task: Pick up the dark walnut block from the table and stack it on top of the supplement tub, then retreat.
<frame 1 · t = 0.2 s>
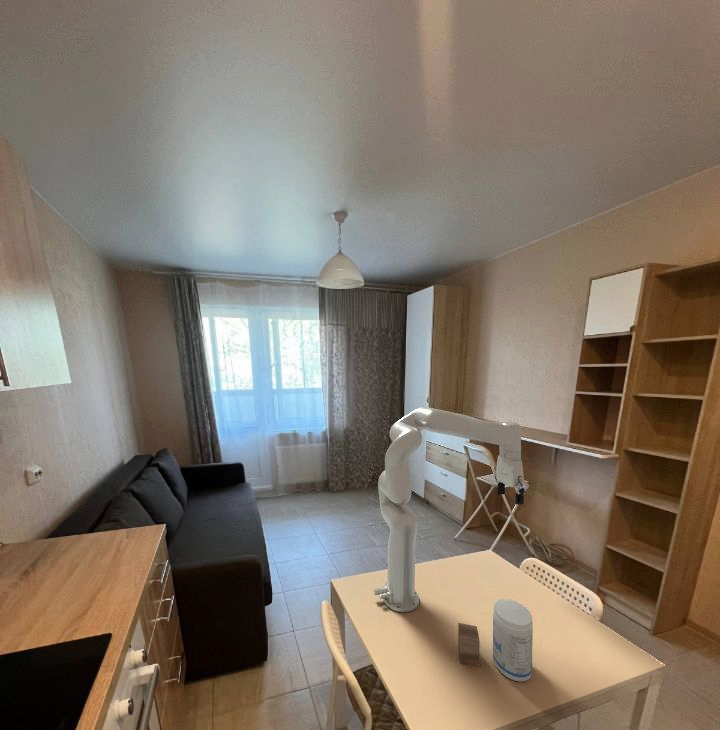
hand: (509, 498, 118), 31 cm above the table, fingers open, 9 cm apart
walnut block: (468, 657, 85), on the table
supplement tub: (512, 667, 82), on the table
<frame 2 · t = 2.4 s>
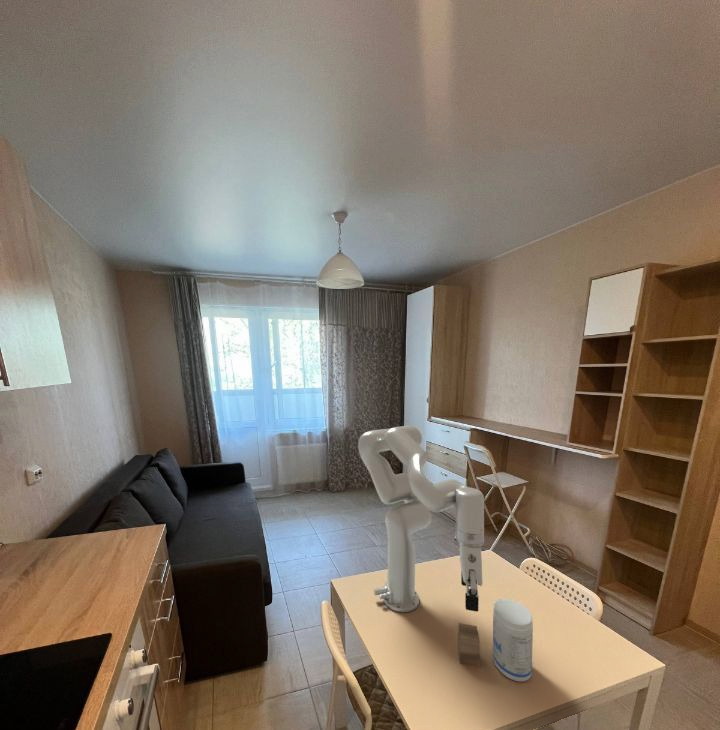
hand: (469, 597, 85), 16 cm above the table, fingers open, 9 cm apart
nothing on the table moved.
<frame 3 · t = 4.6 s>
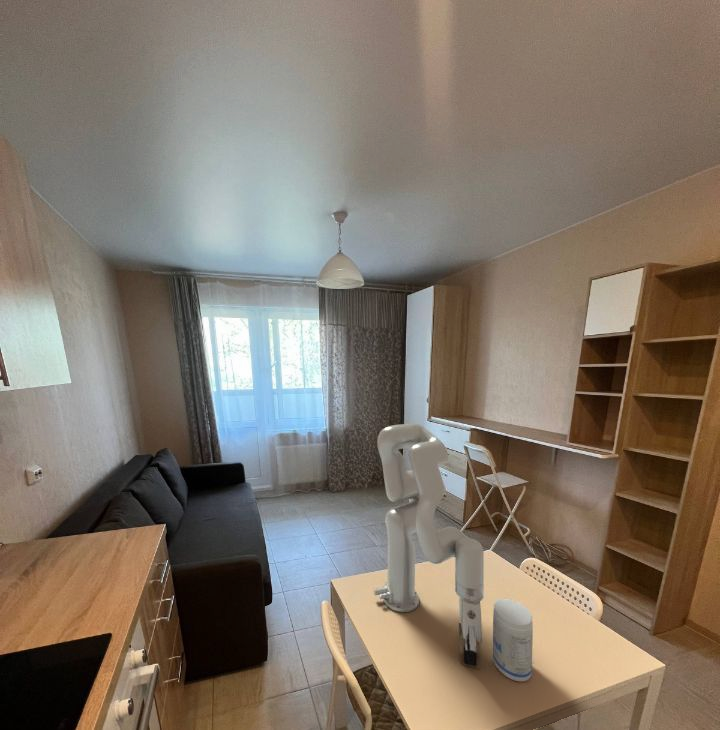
hand: (468, 654, 85), 1 cm above the table, fingers closed on walnut block, 5 cm apart
walnut block: (468, 657, 84), on the table, touching gripper
everything else where it was.
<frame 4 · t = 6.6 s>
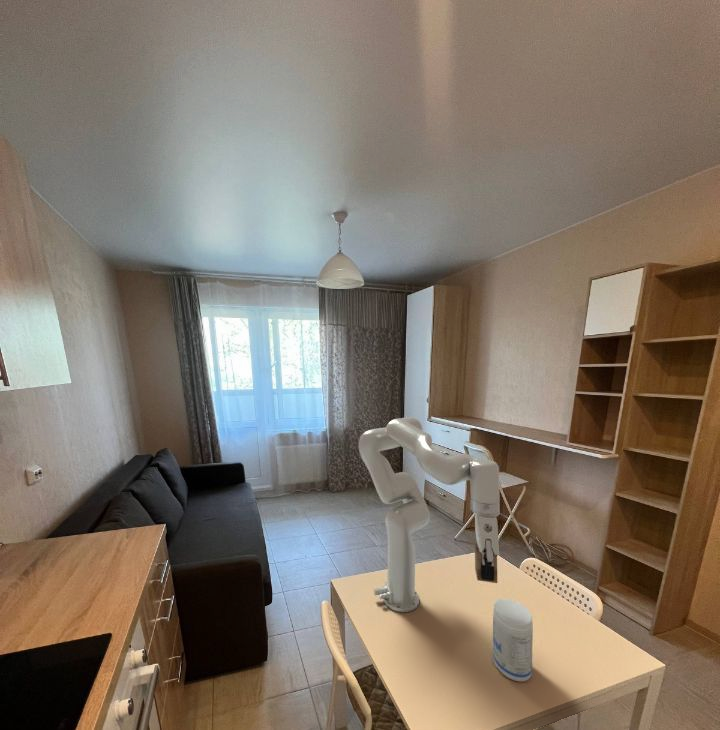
hand: (485, 572, 84), 24 cm above the table, fingers closed on walnut block, 5 cm apart
walnut block: (485, 576, 84), point 23 cm above the table, touching gripper
everything else where it was.
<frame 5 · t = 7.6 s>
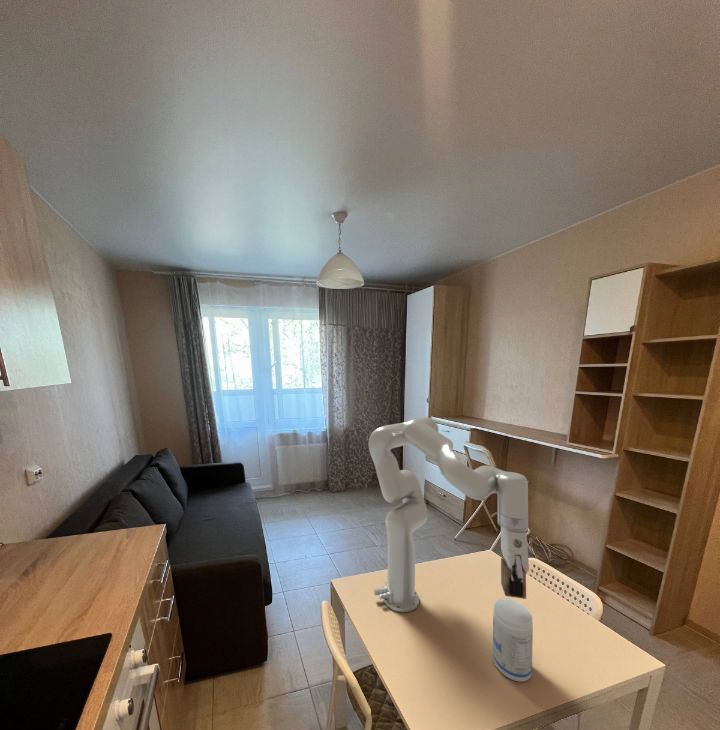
hand: (513, 587, 83), 21 cm above the table, fingers closed on walnut block, 5 cm apart
walnut block: (513, 591, 83), point 20 cm above the table, touching gripper
everything else where it was.
when the fingers open (17 cm above the table, at t = 8.6 s): walnut block drops 1 cm, resting on supplement tub.
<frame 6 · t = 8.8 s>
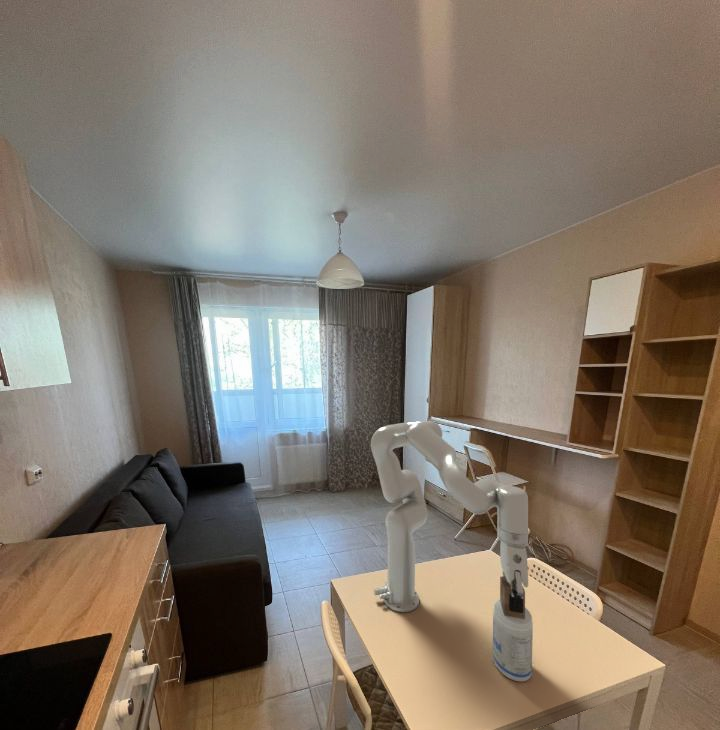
hand: (512, 600, 83), 17 cm above the table, fingers open, 6 cm apart
walnut block: (512, 610, 83), point 15 cm above the table, touching supplement tub
supplement tub: (512, 667, 82), on the table, touching walnut block
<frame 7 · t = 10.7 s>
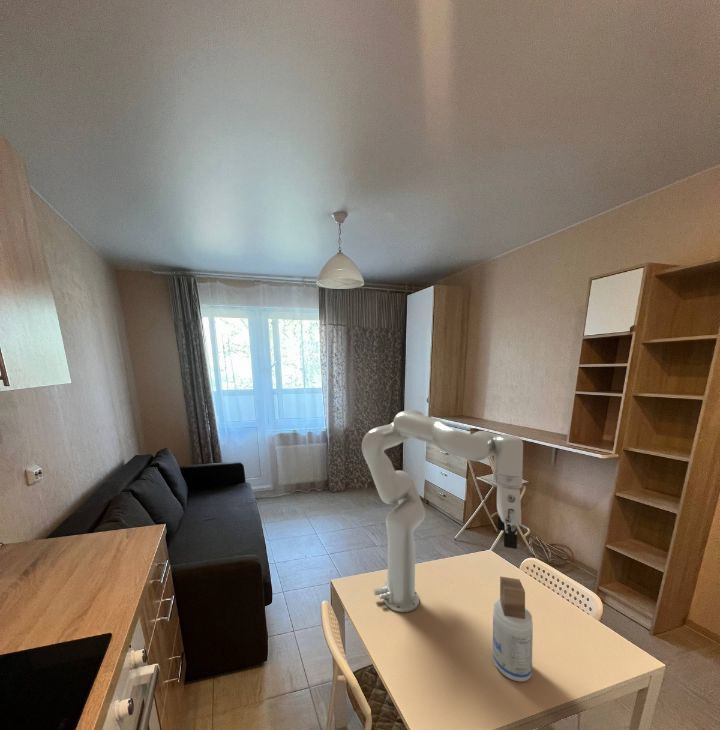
hand: (506, 538, 88), 31 cm above the table, fingers open, 9 cm apart
nothing on the table moved.
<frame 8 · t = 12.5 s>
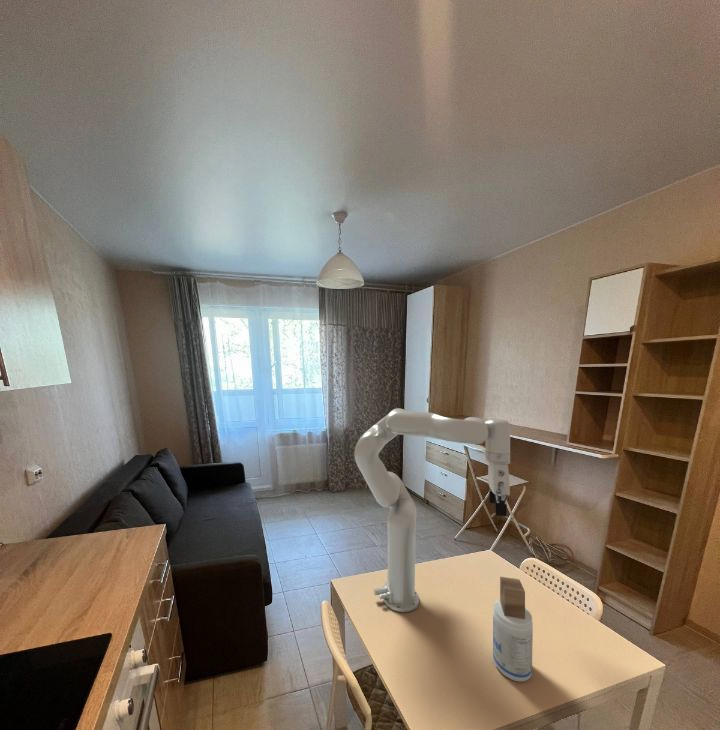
hand: (497, 509, 101), 34 cm above the table, fingers open, 9 cm apart
nothing on the table moved.
at the end: walnut block inside the target area on the supplement tub (0.0 cm from its centre), point 14.9 cm above the supplement tub's base; walnut block tilted 0°; the gripper is holding nothing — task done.
